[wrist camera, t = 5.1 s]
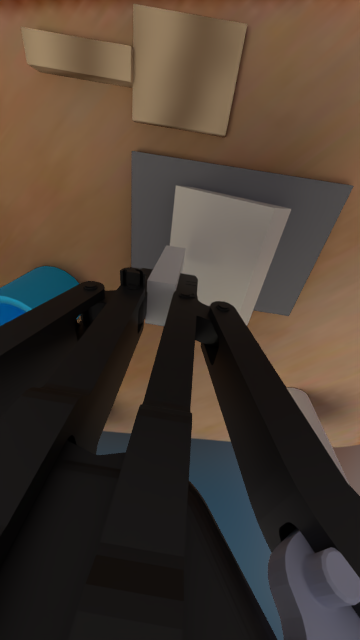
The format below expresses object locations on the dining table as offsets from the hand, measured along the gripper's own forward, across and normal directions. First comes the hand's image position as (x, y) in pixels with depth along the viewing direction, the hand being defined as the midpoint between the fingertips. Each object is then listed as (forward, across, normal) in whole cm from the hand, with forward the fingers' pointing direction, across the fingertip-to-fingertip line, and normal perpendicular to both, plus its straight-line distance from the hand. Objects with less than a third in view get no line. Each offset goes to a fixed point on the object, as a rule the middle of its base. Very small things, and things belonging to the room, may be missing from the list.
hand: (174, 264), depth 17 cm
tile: (+7, 0, 0) cm, 7 cm away
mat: (+9, +4, 0) cm, 10 cm away
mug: (+9, -17, -12) cm, 22 cm away
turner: (+9, -6, +12) cm, 16 cm away
